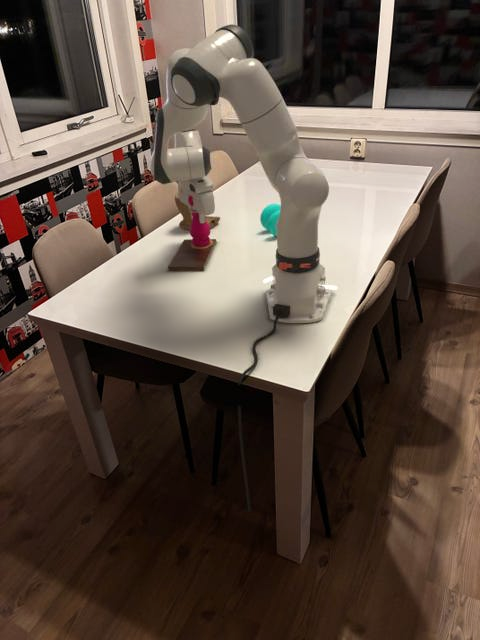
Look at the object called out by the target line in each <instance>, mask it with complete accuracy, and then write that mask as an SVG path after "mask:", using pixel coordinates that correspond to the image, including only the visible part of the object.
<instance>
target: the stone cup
mask: <svg viewBox="0 0 480 640" xmlns="http://www.w3.org/2000/svg"><path fill="white" fill-rule="evenodd" d="M174 202H175V205H176V207H177V209H178V211H179V214H180V215H181V217H182V220H181V221H180V222H179V223H178V226H179V227H180V228H182V229H190V227H191V224H192V220H193V218H191V213H190V211H189V208H188V206H187V205H186V204H184V203H182V202H181V201H180V199H179V193H178V192H177V193H176V194H175V195H174ZM205 219H206V221H207V223H208V225H209V227H210V229H211V228H214V227H215V226H216V225H217V224H218V223H219V222H220V221H221V216H211V215H207V216H205Z"/></svg>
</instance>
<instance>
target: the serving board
mask: <svg viewBox="0 0 480 640" xmlns="http://www.w3.org/2000/svg"><path fill="white" fill-rule="evenodd" d="M192 239H193V238H192ZM192 239H191V238H190V239H183V241H182V243H181V244H180V246H179V247H178V249H177V251H176V252H175V254H174V256H173V257H172V259H171V260H170V262H169V264H168V266H167V270H168V272H203V271H205V269H206V267H207V265H208V262H209V260H210V258H211V256H212V254H213V252H214V249H215V247H216V245H217V242H218V241H217V239H216V238H210V244H209V245H207V246H203V247H197V246H194V245H193V243H192Z"/></svg>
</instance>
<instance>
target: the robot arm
mask: <svg viewBox="0 0 480 640" xmlns="http://www.w3.org/2000/svg"><path fill="white" fill-rule="evenodd" d="M254 51H255V50H254V46H253V42H252V40H251V37H250V36H249V35H248V33H247V32H246V31H245V30H244V29H243V28H242V27H241V26H239V25H237V24H227V25H224V26H221V27H219V28H218V29H216V30H215V31H214V33H211V35H208V36H207V37H206V38H204V39H203V40H200V41H199V42H197V43H196V44H195V45H193V47H191V48H189V47H184V48H179V49H177V50H175V51H174V52H173V53H171V54H170V56H169V58H168V60H167V65H166V78H165V79H166V80H165V81H166V82H165V85H166V99H165V102H164V103H163V105H161V107H160V108H159V109H157V111H156V113H155V118H154V125H153V126H154V128H153V137H152V138H153V139H152V150H151V154H150V155H151V156H150V161H149V168H150V174H151V176H152V177H153V179H154V180H155V181H156V182H158V183H159V184H161V185H167V184H172V183H176V182H178V184H177V193H179V199H180V201H181V202H182V203H184V204H186V205H187V206H188V208H189V211H190V213H191V218H193V214H192V212H191V208H193V209H194V210H196V211H198V213H199V218H198V220H199V223H201V224H202V223H205V216H211V215H213V214H214V213H215V211H216V203H215V195H214V191H213V190H214V189H215V188H214V182H213V181H211V179H210V178H209V177H208V175H209V174H210V172H211V170H212V169H213V168H212V163H211V150H210V149H208V148H207V147H205V146H204V145H203V143H202V139H201V135H200V131H199V130H198V129H193V128H194V127H196V126H198V125H200V124H201V123H202V122H203V121H204V120H205V119H206V118H207V115H208V113H209V110H210V106H217V105H218V103H219V101H220V98H222V99H224V100H225V101H227V102H228V103H229V104H230V105H231V107H232V109H233V111H234V113H235V115H236V118H237V119H238V121H239V123H240V125H241V127H242V128H243V130H244V132H245V134H246V136H247V139H248V140H249V142H250V144H251V145H252V148H253V149H254V151H255V154H256V155H257V157H258V160H259V162H260V165H261V167H262V169H263V172H264V174H265V175H266V178H267V180H268V182H269V184H270V185H271V187H272V188H273V189H274V190H275V192H276V193H277V194H278V196H279V199H280V205H281V209H280V215H279V220H278V221H277V224H276V229H277V236H276V247H277V248H276V250H275V264H274V265H273V267H271V272H272V276H270V277H267V278H265V279H263V283H264V284H266V283H268V282H270V281H272V284H270V288H268V289H266V291H265V297H266V303H267V309H268V314H269V318H270V320H272V321H273V328H272V330H271V331H270V332H269V333H268V334H266V335H264V336H261V337H259V338H257V339H256V340H254V342H253V344H252V353H253V356H254V362H253V363H252V364H251V365H250V366H249V367H248V368H247V369H245V370H244V371H243V372H242V374H241V375H240V377H239V379H238V382H237V384H238V386H241V385H242V382H243V381H244V378H245V376H246V375H247V374H248V373H249V372H250V371H252V370H253V369H254V368H255V367H256V366H257V364H258V360H259V356H258V352H257V350H256V349H257V348H256V346H257V344H258V343H259V342H261V341H263V340H265V339H267V338H269V337H270V336H272V335H274V333H275V332H276V329H277V323H284V324H311V323H316V322H319V321H322V320H323V318H324V316H325V313H326V311H327V307H328V305H329V303H330V300H331V297H332V295H333V294H332V290H337V289H338V287H337V286H336V285H326V279H327V278H326V272H325V271H326V267H325V266H324V265H323V264H321V262H320V260H321V259H320V258H321V253H320V248H319V221H320V216H321V211H322V207H323V205H324V203H326V201H327V200H328V197H329V192H330V185H329V182H328V179H327V177H326V176H325V173H324V172H323V171H322V169H321V168H320V167H319V166H317V165H315V163H313V162H312V161H311V160H310V159H308V157H307V156H306V153H305V152H304V150H303V147H302V145H301V142H300V139H299V135H298V127H297V125H296V123H295V122H294V118H293V117H292V115H291V112H290V110H289V109H288V106H287V104H286V102H285V100H284V97H283V96H282V94H281V91H280V90H279V88H278V86H277V84H276V82H275V81H274V79H273V78H272V76H271V74H270V73H269V71H268V70H267V69H266V68H265V66H264V65H263V63H262V62H261V61H260V60H258V59H257V58H254V56H255V55H254V54H255V52H254ZM172 137H174V147H173V148H169V143H170V140H171V138H172ZM189 195H191V196H192V197H193V203H194V205H193V206H191V205H190V204H189V203H188V197H189ZM190 207H191V208H190ZM237 422H238V423H237V424H238V436H239V437H238V438H239V445H240V446H239V447H240V455H241V456H240V457H241V463H242V471H243V478H244V486H245V495H246V503H247V511H248V512H251V511H252V510H251V499H250V490H249V482H248V476H247V475H248V474H247V467H246V458H245V449H244V441H243V439H244V438H243V428H242V427H243V426H242V405H237Z"/></svg>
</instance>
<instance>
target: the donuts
mask: <svg viewBox="0 0 480 640" xmlns="http://www.w3.org/2000/svg"><path fill="white" fill-rule="evenodd" d="M280 209H281V204H279V203H270V204H268V205H267V206H265V207H264V208H263V209H262V211H261V213H260V216H259V217H260V219H259V220H260V225H261V226H262V227H263V228H264V229H265V230H268V231H269V232H270V234H271V235H273V236H274V237H277V229H276V224H277V221H278V220H279V215H280Z"/></svg>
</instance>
